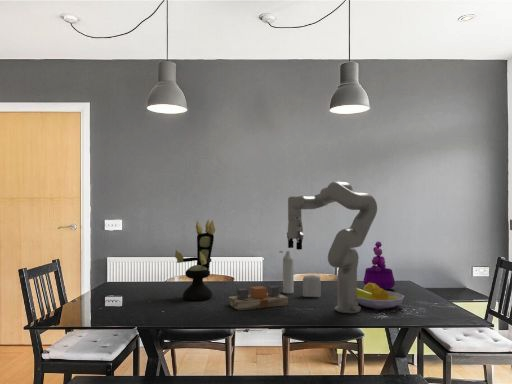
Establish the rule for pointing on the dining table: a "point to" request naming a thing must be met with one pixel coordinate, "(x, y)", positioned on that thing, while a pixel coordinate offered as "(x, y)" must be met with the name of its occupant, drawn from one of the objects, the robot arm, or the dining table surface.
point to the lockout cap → (258, 292)
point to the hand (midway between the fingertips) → (294, 248)
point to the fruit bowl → (377, 297)
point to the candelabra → (199, 264)
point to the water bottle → (288, 273)
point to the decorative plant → (379, 271)
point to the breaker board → (257, 302)
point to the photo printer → (311, 286)
